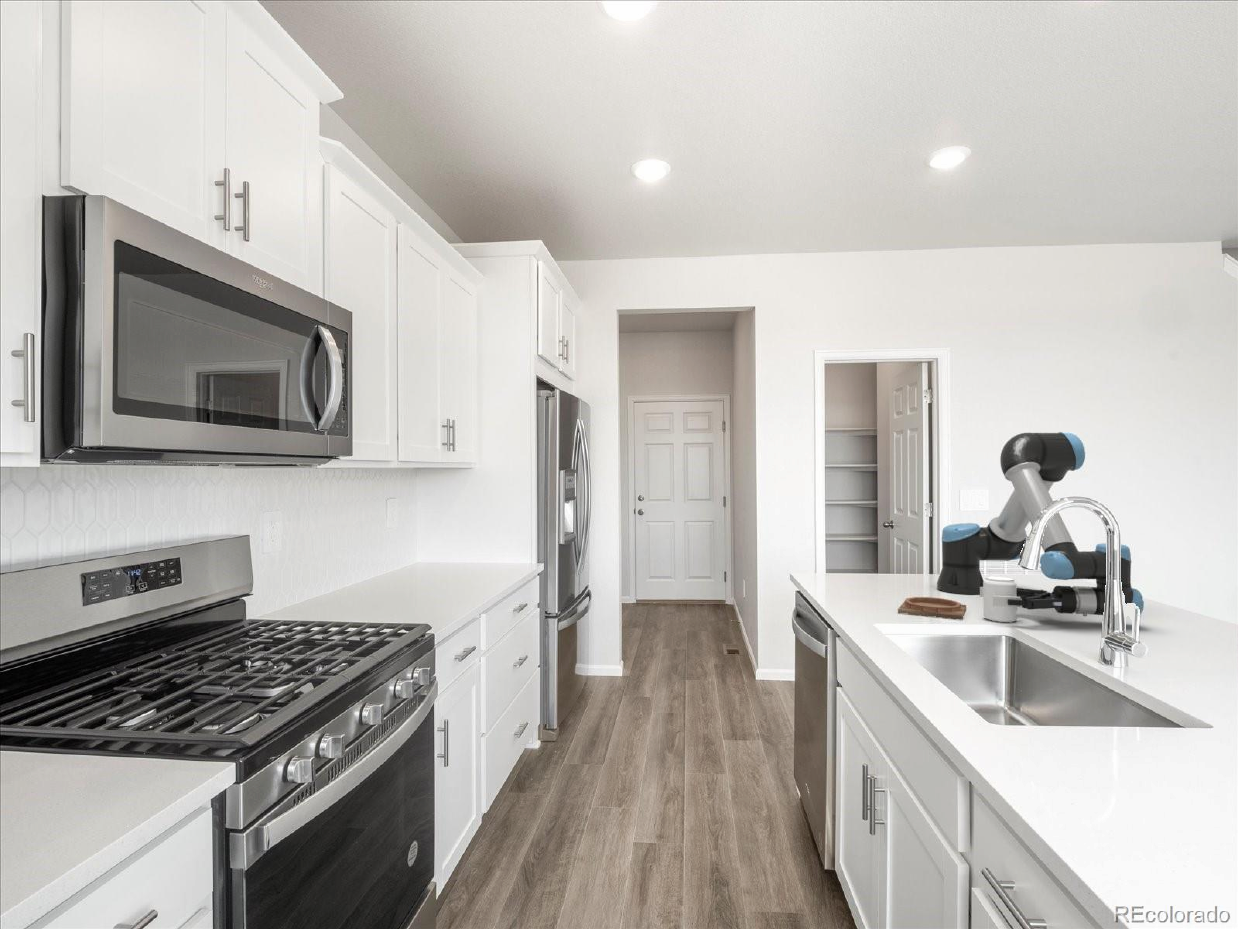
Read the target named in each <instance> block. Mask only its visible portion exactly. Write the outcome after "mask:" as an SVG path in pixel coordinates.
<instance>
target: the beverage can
mask: <svg viewBox="0 0 1238 929" xmlns="http://www.w3.org/2000/svg"><path fill="white" fill-rule="evenodd" d="M983 580H984V581H983V597H982V598H983V604H982V605H983V617H984V618H985V619H987V620H988V619H989V620H988V621H990V620H992V621H991V622H994V621H998V622H997V623H1002V622H1010V623H1013V622H1015V621H1017V619H1018V617H1017V616H1018V615H1017V611H1018V610H1017V608H1018V607H1004V606H993V596H1012V597H1017V594H1016V588H1017V582H1016V581H1015V578H1014V577H1010V576H1003V575H1002V576H1001V575H986V576H985V578H984V579H983ZM1012 621H1013V622H1012Z"/></svg>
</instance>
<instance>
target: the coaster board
mask: <svg viewBox="0 0 1238 929" xmlns="http://www.w3.org/2000/svg"><path fill="white" fill-rule="evenodd" d="M966 612H967V604H963V603H960V602H958V601H956V600H952V599H947V598H941V597H931V596H930V597H929V596H914V597H908V598H905V599H904V601H903V602H902V604H901V605H900V606H899V607H898V608H897V614H900V613H908V614H907V615H910V614H914V615H913V616H919V615H921V616H920V617H928V616H936V617H935V618H938V617H945V618H944V619H947V618H951V619H950V620H956V619H963V620H964V617H965V614H966ZM964 613H965V614H964ZM963 616H964V617H963Z"/></svg>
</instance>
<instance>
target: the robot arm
mask: <svg viewBox="0 0 1238 929" xmlns="http://www.w3.org/2000/svg"><path fill="white" fill-rule="evenodd" d="M999 457H1000V459H999V462H1000V468H1001V472H1002V474H1003V475H1004V478H1005V480H1007V481H1008V482H1011V484H1012V487H1013V488H1014V489H1013V491H1012V493H1011V495H1010V496H1009V498H1008V500H1007V502H1006V503H1005V505H1004V507H1003V509H1002V510H1001V512H1000V514H999V516H995V517H993V518H991V520H989V522H988V524H987V526H986V527H984V526H983V527H981V526H980V525H979V524H978V523H974V522H972V523H971V522H966V523H954V524H953V523H952V524H949V525H946V526H944V527H943V528H942V532H941V553H942V554H941V555H942V556H941V560H942V564H941V566H942V568H941V571H940V574H939V576H938V579H937V583H936V590H938V589H940V590H939V591H941V590H942V591H941V592H945V593H950V592H952V593H951V594H959V595H960V594H961V595H979V597H982V598H983V581H984V580H985V579H984V578H983V575H982V572H981V570H980V567H981V566H980V563H981V562H980V561H986V562H987V561H991V562H992V561H993V562H994V561H996V562H997V561H998V562H999V561H1000V562H1001V561H1002V562H1003V561H1004V562H1005V561H1007V562H1009V561H1016V560H1019V559H1020V558H1019V557H1020V552H1021V550H1022V548H1023V544H1024V541H1025V540H1026V537H1028V535H1027V531H1026V528H1027V526H1028V525H1029V523H1030V524H1031V526H1032V528H1033V523H1034V521H1035V520H1036V518H1037V516H1038V514H1039V513H1040V511H1041V510H1043V509H1044V507H1047V506H1048V505H1049V504H1050V503H1053V502H1054V500H1053V498H1052V496H1051V494H1050V492H1049V491H1050V489H1051V488H1052V486H1053V485H1054V483H1058V482H1061V481H1062V480H1063V479H1064V477H1065V476H1066V475H1067V473H1068V472H1069V471H1071V472H1072V471H1073V472H1074V471H1077V470H1079V469H1081V468H1082V467H1083V465H1084V463H1085V459H1086V452H1085V445H1084V443H1083V442H1082V440H1081V439H1080V437H1078V435H1076V434H1074V433H1070V432H1063V431H1062V432H1061V431H1059V432H1023V433H1019V434H1016V435H1014V436H1012V437H1011V438H1010V439H1009V440H1008V441H1007V442H1006V443H1005V444H1004V446H1003V447H1002V450H1001V453H1000V456H999ZM1040 546H1041V548H1042V550H1043V552H1044V553H1043V554H1041V556H1040V559H1039V564H1040V570H1041V572H1042V574H1043V575H1044V576H1045V577H1046V578H1049V579H1051V580H1060V581H1068V580H1095V584H1096V586H1080V585H1076V586H1075V585H1073V586H1072V587H1071V586H1070V585H1056V586H1054V587H1053V589H1052V592H1048V591H1047V590H1044V589H1032V588H1031V589H1030V588H1020V587H1016V594H1017V597H1012V596H993V606H1004V607H1017V608H1023V609H1026V610H1044V609H1045V610H1046V609H1047V610H1048V609H1054V610H1055V612H1056V613H1058V614H1072V615H1073V614H1075V615H1082V616H1083V617H1088V615H1091V616H1092V615H1093V616H1094V615H1097V616H1104V615H1103V612H1104V603H1105V585H1106V543H1098V544H1096V546H1095V550H1093V551H1091V550H1090V551H1079V550H1078V548H1077V546H1076V544H1075V542H1074V540H1073V538H1072V536H1071V535H1070V533H1069V530H1068V528H1067V527H1066V524H1065V522H1064V520H1063V519H1062V517H1061V514H1060V513H1059V511H1058V513H1056V514H1054V516H1053V517H1052V518H1051V519H1050V521H1049V522H1048V524H1047V527H1046V528H1045V531H1044V536H1043V540H1042V544H1040ZM1131 557H1132V556H1131V549H1130V547H1129V546H1127V545H1126V544H1121V582H1122V591H1123V593H1124V595H1125V603H1126V604H1127V603H1135V604H1136V606H1138V607H1139V609H1140V615H1141V614H1142V613H1143V610H1144V607H1145V606H1144V603H1145V602H1144V600H1143V594H1142V593H1141V592H1140V590H1138V589H1137V588H1132V583H1131V582H1132V580H1131V575H1132V572H1131V570H1132V558H1131Z"/></svg>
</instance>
